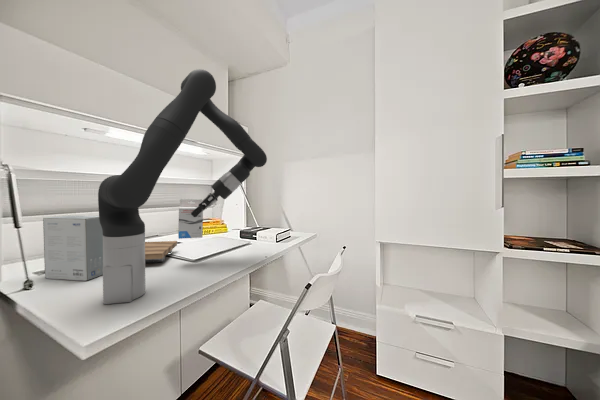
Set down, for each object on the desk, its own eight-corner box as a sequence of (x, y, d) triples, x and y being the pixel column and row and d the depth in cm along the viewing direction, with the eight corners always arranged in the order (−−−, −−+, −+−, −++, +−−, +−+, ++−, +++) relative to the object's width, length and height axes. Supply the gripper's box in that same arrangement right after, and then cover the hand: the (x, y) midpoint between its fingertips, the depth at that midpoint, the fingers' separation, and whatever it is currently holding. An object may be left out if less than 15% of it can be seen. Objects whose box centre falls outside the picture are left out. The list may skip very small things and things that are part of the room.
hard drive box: (109, 273, 81) (108, 216, 80) (86, 281, 73) (85, 218, 72) (69, 270, 82) (67, 214, 81) (43, 278, 75) (41, 217, 74)
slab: (162, 258, 88) (162, 253, 88) (119, 260, 85) (119, 255, 85) (176, 245, 110) (176, 240, 110) (143, 246, 106) (143, 242, 106)
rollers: (163, 262, 93) (163, 255, 93) (128, 264, 90) (128, 257, 89) (172, 254, 105) (172, 247, 105) (141, 255, 102) (141, 248, 102)
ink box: (178, 239, 86) (178, 199, 86) (178, 236, 91) (179, 199, 90) (202, 237, 90) (203, 199, 89) (202, 235, 95) (202, 199, 94)
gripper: (221, 179, 100) (190, 206, 97) (218, 177, 86) (182, 209, 83) (233, 191, 101) (204, 219, 98) (232, 191, 87) (198, 224, 84)
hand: (194, 214), depth 91 cm, fingers closed on ink box, 5 cm apart
